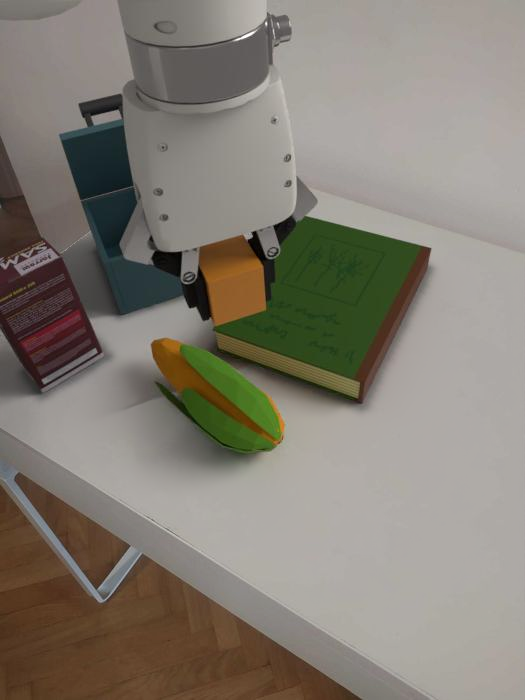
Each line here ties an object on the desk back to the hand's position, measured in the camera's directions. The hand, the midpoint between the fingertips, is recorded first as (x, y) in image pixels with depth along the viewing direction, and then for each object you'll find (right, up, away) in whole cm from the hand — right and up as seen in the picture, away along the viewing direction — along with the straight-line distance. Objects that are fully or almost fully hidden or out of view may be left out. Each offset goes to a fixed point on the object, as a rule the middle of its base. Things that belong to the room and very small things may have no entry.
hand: (230, 297), depth 45 cm
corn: (-3, -11, +19) cm, 22 cm away
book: (+11, +1, +29) cm, 31 cm away
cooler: (-13, +7, +35) cm, 39 cm away
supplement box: (-21, -6, +25) cm, 33 cm away
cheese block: (0, 0, 0) cm, 0 cm away
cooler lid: (-15, +19, +26) cm, 35 cm away
